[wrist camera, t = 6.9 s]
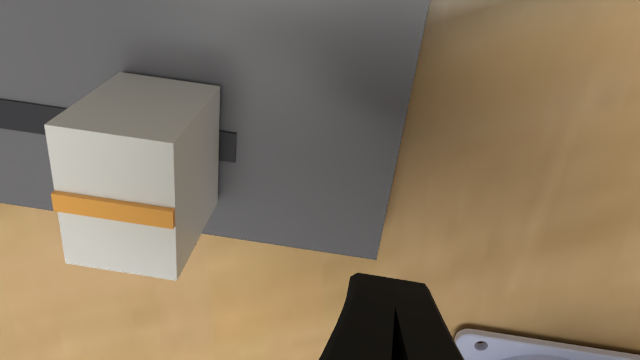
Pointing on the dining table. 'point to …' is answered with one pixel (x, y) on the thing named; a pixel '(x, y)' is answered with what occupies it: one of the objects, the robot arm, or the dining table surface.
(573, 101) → the dining table surface
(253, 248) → the dining table surface
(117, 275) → the dining table surface
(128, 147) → the fader knob
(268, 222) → the panel
